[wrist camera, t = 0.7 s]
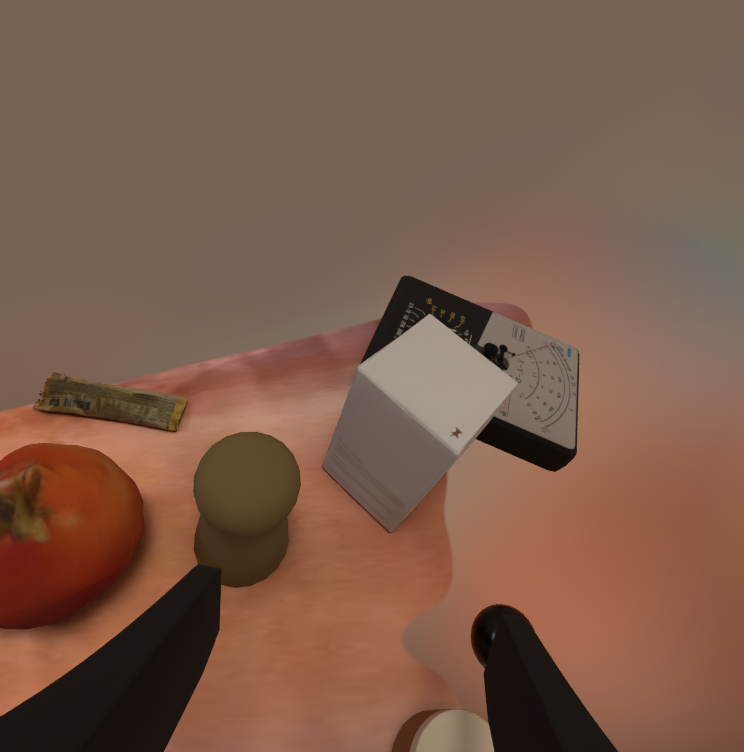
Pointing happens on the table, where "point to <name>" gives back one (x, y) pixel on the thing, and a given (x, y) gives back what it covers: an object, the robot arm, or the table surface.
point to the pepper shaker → (245, 506)
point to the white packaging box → (412, 418)
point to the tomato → (62, 531)
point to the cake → (444, 732)
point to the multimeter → (513, 356)
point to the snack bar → (111, 402)
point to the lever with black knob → (488, 629)
